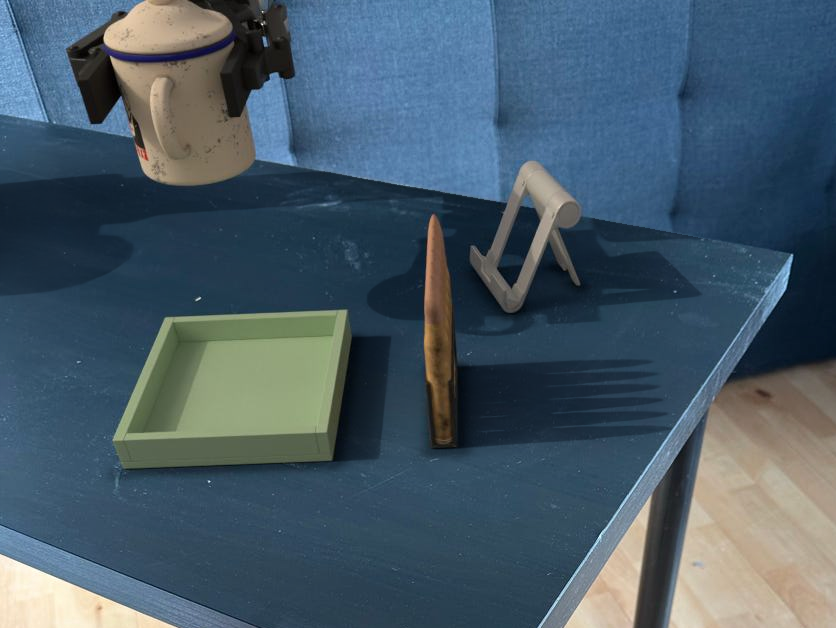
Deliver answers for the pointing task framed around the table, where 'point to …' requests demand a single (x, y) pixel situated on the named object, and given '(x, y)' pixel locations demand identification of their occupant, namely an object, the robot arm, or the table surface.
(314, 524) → the table surface
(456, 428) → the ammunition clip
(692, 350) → the table surface
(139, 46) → the teacup with lid
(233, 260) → the table surface
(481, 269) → the tablet stand
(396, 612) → the table surface
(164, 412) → the tray
